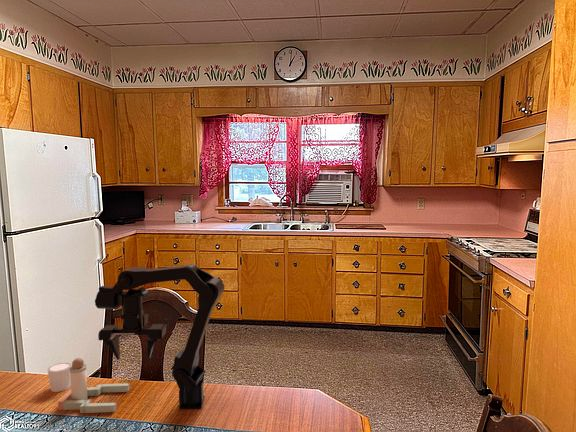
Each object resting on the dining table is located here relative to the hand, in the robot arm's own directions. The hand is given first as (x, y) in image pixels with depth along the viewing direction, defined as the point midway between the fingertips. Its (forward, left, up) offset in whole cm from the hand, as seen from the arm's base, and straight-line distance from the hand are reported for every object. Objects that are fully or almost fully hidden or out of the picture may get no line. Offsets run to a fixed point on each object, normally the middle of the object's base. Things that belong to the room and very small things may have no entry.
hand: (133, 359), depth 124 cm
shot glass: (+27, -9, -13) cm, 31 cm away
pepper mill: (+17, 0, -13) cm, 21 cm away
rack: (+12, 0, -13) cm, 18 cm away
